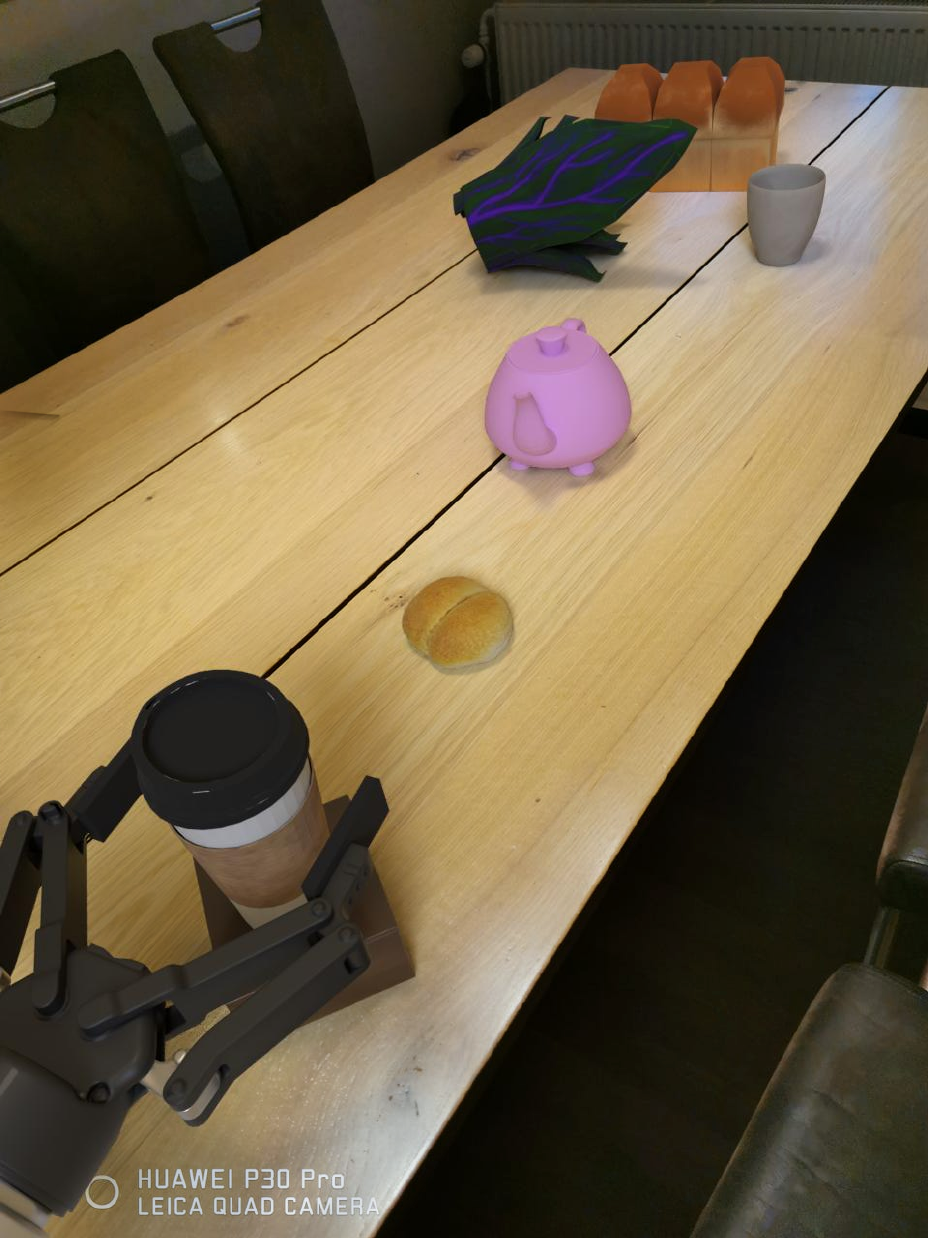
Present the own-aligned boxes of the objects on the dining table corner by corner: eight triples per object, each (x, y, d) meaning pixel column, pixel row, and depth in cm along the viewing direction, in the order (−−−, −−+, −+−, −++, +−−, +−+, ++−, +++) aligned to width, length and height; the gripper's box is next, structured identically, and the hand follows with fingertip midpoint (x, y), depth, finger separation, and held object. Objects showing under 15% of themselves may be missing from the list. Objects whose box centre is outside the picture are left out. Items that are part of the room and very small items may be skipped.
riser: (222, 906, 62) (192, 855, 58) (366, 847, 64) (347, 793, 60) (254, 1048, 55) (222, 1001, 51) (415, 976, 57) (397, 926, 53)
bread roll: (462, 688, 73) (455, 652, 70) (390, 635, 78) (380, 600, 76) (538, 630, 76) (533, 594, 74) (464, 583, 82) (457, 547, 79)
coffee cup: (272, 811, 59) (194, 642, 49) (388, 854, 56) (330, 682, 46) (189, 927, 54) (83, 764, 44) (311, 982, 51) (226, 819, 41)
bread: (595, 193, 142) (591, 83, 132) (614, 162, 150) (611, 57, 140) (769, 191, 134) (779, 74, 124) (779, 158, 142) (789, 47, 132)
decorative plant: (510, 314, 137) (718, 237, 128) (474, 328, 114) (725, 235, 104) (462, 166, 132) (676, 74, 122) (413, 148, 108) (674, 33, 99)
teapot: (602, 522, 85) (597, 400, 77) (455, 505, 90) (435, 389, 82) (650, 403, 98) (650, 288, 90) (520, 394, 103) (508, 284, 95)
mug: (817, 271, 115) (827, 188, 108) (741, 273, 117) (747, 192, 110) (815, 230, 123) (824, 151, 116) (744, 233, 125) (749, 155, 118)
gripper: (-177, 1097, 44) (109, 750, 57) (274, 1348, 35) (490, 865, 48) (-286, 1028, 39) (57, 664, 52) (210, 1301, 30) (471, 775, 43)
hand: (265, 760), depth 50 cm, fingers open, 13 cm apart
